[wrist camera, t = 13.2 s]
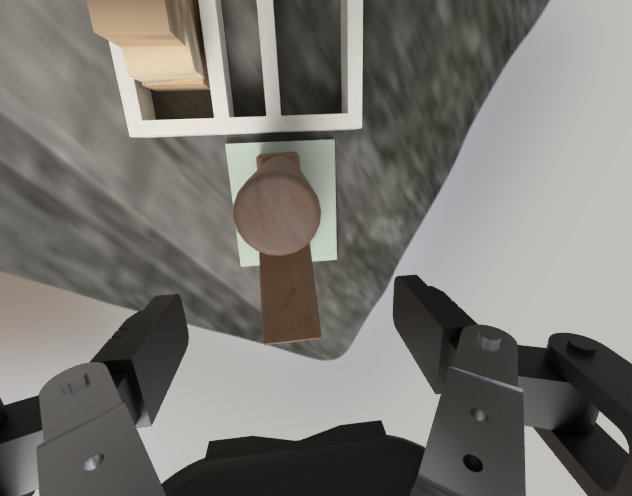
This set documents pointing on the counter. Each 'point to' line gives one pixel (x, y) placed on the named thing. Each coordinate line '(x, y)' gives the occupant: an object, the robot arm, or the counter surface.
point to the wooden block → (282, 245)
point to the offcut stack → (156, 40)
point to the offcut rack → (224, 122)
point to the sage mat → (318, 172)
